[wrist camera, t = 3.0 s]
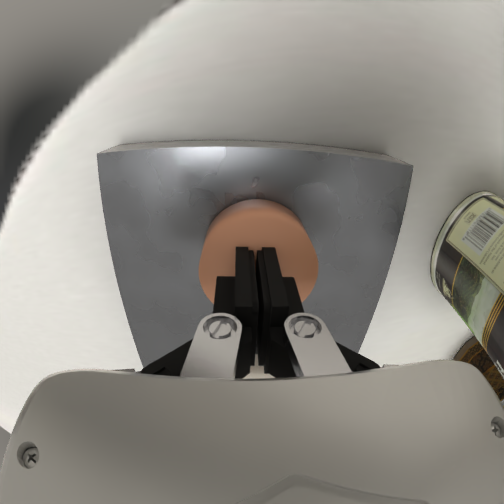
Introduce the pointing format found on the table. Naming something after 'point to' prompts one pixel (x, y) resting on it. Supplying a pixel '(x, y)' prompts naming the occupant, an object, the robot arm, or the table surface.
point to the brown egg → (258, 243)
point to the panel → (233, 191)
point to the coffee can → (475, 269)
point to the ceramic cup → (482, 365)
